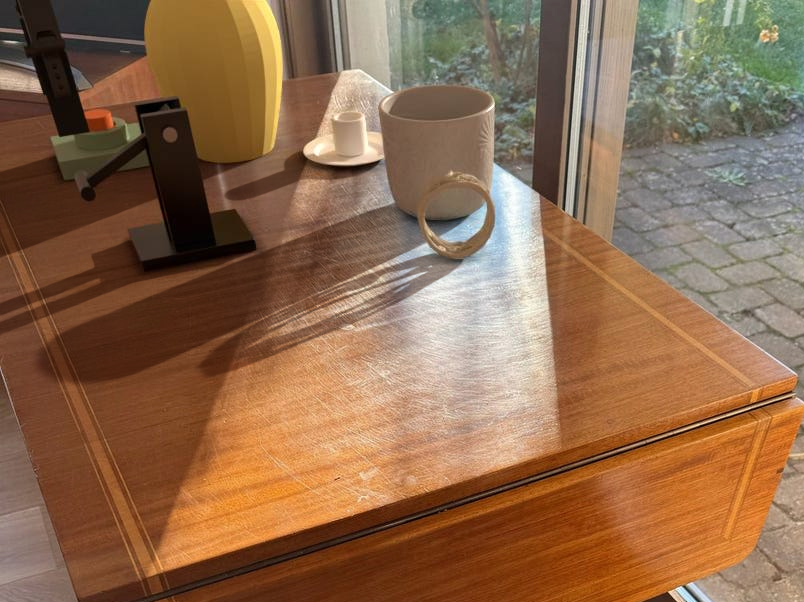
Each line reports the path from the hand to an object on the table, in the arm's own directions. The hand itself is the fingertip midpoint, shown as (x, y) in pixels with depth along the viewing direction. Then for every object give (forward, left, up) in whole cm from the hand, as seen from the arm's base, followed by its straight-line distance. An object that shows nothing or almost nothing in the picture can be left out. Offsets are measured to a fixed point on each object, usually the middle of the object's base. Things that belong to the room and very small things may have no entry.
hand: (65, 112), depth 94 cm
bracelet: (+34, -15, -15) cm, 40 cm away
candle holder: (+33, +18, -15) cm, 40 cm away
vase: (+20, +27, -15) cm, 37 cm away
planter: (+37, -3, -15) cm, 40 cm away
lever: (+5, 0, -6) cm, 8 cm away
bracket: (+9, 0, -15) cm, 17 cm away
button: (+4, +31, -11) cm, 33 cm away
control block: (+4, +31, -15) cm, 34 cm away
